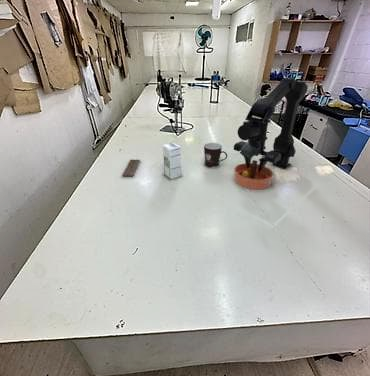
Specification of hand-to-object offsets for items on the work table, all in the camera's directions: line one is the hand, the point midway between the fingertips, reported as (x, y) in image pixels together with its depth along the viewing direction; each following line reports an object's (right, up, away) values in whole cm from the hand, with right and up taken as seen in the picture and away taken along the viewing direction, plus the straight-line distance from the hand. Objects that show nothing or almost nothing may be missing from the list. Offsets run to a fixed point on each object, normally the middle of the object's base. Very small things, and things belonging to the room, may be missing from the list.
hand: (253, 169), depth 99 cm
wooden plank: (-54, 0, +12) cm, 56 cm away
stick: (0, -4, +2) cm, 5 cm away
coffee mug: (-15, +1, +16) cm, 22 cm away
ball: (-2, -2, +4) cm, 5 cm away
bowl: (0, -5, +2) cm, 6 cm away
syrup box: (-35, -3, +6) cm, 35 cm away
